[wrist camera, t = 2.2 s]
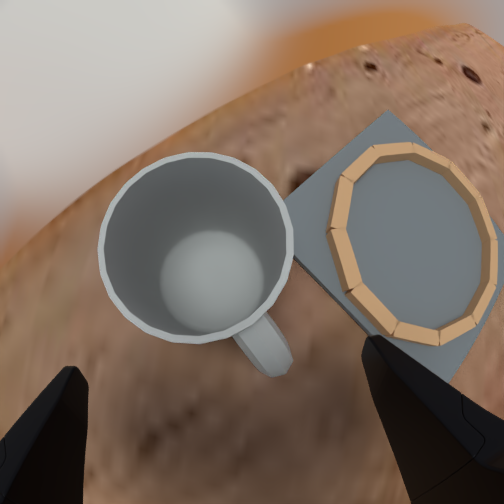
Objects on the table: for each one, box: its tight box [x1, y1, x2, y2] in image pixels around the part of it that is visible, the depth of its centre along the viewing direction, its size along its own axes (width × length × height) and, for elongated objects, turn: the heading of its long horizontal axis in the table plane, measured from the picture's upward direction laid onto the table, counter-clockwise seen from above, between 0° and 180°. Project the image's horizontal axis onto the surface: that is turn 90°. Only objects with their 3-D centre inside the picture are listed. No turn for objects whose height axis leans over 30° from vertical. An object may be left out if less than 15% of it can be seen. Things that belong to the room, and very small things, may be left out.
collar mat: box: [283, 110, 504, 383], centre depth 20 cm, size 18×16×2 cm
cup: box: [98, 152, 294, 378], centre depth 15 cm, size 7×10×9 cm
